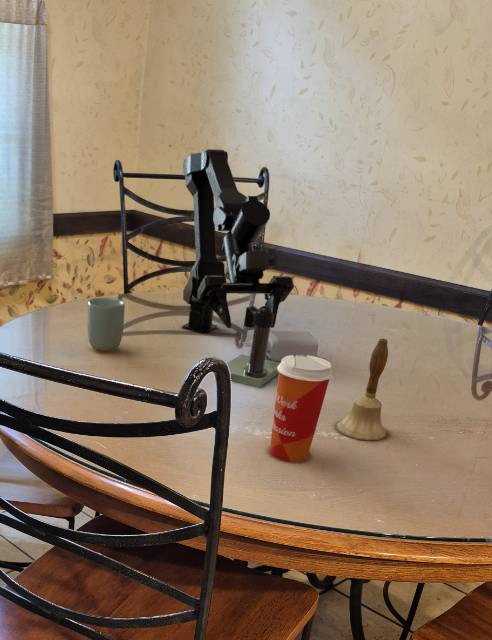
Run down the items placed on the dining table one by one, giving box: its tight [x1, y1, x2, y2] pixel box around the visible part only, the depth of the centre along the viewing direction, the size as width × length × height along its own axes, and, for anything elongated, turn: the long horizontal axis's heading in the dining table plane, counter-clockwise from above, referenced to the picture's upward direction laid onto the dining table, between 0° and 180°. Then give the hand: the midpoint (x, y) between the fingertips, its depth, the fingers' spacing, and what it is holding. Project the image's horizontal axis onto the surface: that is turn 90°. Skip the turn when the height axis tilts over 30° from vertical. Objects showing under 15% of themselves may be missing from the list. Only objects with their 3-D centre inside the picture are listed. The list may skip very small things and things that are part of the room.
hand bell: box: [336, 338, 389, 442], centre depth 119 cm, size 8×8×16 cm
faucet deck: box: [227, 325, 281, 388], centre depth 143 cm, size 13×10×11 cm
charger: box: [242, 329, 320, 362], centre depth 155 cm, size 5×9×15 cm
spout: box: [242, 305, 274, 331], centre depth 139 cm, size 9×4×6 cm, turn 12°
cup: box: [86, 297, 126, 352], centre depth 153 cm, size 8×8×10 cm
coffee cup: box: [269, 355, 334, 463], centre depth 110 cm, size 8×8×15 cm
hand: (251, 327), depth 142 cm, fingers open, 9 cm apart
